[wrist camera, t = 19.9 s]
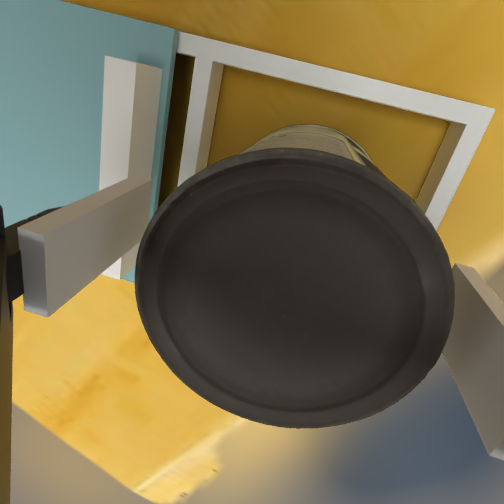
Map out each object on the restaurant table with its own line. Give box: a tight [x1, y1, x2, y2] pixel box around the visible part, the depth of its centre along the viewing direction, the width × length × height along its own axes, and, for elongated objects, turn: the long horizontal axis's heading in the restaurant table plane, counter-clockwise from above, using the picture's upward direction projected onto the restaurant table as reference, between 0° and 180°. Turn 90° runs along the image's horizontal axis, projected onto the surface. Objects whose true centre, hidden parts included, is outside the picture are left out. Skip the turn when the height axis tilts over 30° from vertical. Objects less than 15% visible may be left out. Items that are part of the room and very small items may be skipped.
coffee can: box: [135, 124, 455, 428], centre depth 18 cm, size 10×10×14 cm
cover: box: [0, 0, 178, 283], centre depth 21 cm, size 16×16×4 cm
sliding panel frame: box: [176, 31, 496, 231], centre depth 24 cm, size 16×34×2 cm, turn 77°
